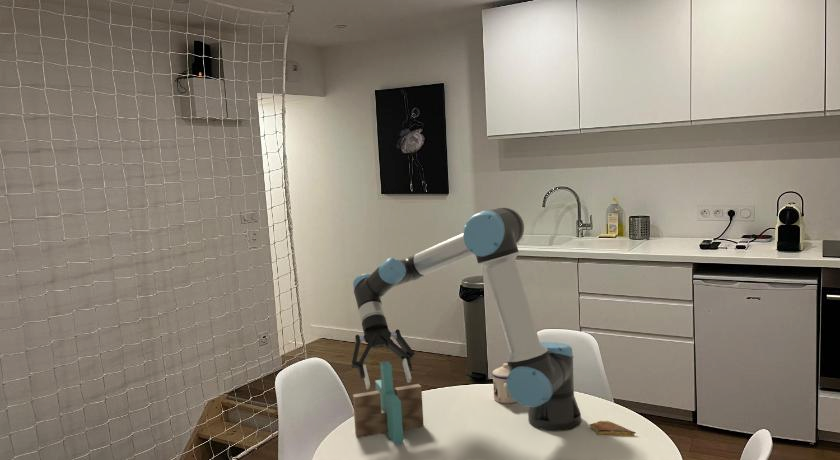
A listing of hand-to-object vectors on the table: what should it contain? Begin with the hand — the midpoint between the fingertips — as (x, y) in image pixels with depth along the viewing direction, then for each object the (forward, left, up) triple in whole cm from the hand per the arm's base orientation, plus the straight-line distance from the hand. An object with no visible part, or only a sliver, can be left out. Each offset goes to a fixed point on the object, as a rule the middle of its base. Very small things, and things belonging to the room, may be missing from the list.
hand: (389, 384), depth 180 cm
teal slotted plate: (0, -3, -15) cm, 15 cm away
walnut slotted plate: (0, -3, -15) cm, 15 cm away
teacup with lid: (-39, -16, -15) cm, 44 cm away
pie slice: (-61, +13, -16) cm, 64 cm away
